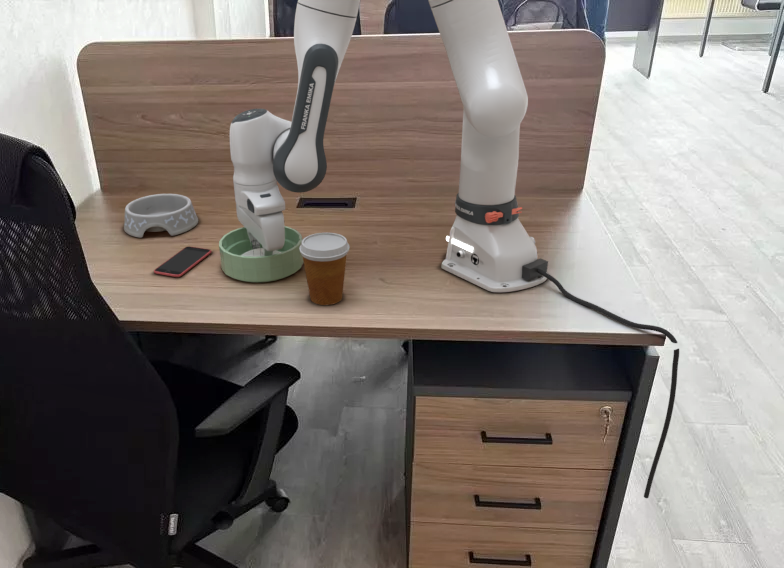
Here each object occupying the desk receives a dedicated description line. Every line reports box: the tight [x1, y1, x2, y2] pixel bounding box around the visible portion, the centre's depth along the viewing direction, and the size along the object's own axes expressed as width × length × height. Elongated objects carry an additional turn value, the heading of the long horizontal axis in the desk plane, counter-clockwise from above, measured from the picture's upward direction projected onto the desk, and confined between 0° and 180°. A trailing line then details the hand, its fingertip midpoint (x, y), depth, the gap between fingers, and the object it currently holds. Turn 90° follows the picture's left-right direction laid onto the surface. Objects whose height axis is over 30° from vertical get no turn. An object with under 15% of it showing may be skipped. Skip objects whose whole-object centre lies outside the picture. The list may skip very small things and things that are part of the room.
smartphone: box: [153, 245, 212, 278], centre depth 160 cm, size 7×1×14 cm
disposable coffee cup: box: [299, 231, 351, 306], centre depth 139 cm, size 10×10×12 cm
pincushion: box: [241, 238, 282, 257], centre depth 155 cm, size 12×6×6 cm, turn 91°
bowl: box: [218, 225, 304, 283], centre depth 155 cm, size 18×18×6 cm
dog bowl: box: [123, 193, 199, 238], centre depth 179 cm, size 17×18×5 cm
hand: (261, 254), depth 155 cm, fingers closed on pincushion, 6 cm apart
